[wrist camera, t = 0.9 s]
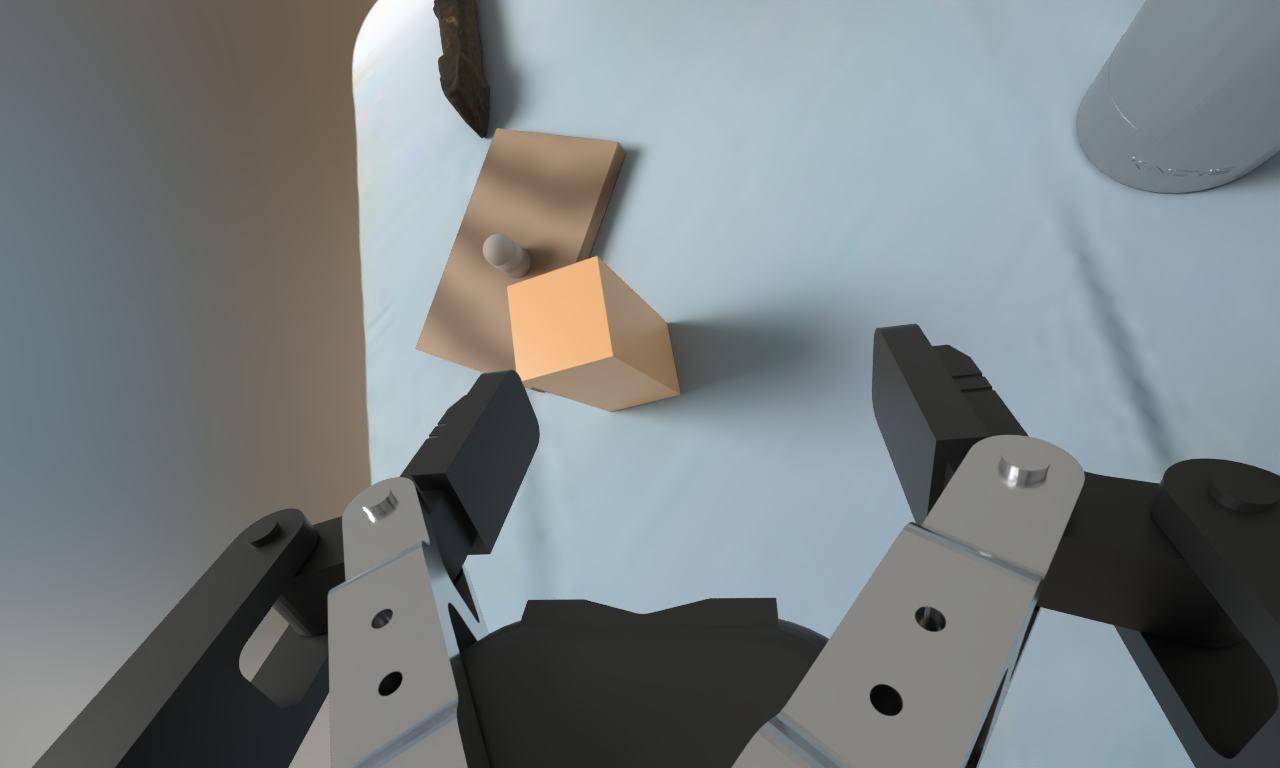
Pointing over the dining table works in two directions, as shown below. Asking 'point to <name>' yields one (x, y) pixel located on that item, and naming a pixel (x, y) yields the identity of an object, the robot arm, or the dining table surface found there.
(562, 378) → the light orange rectangular block
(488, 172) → the jig plate
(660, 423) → the dining table surface
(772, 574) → the dining table surface
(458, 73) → the dark brown rough bar
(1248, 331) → the dining table surface
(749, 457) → the dining table surface
